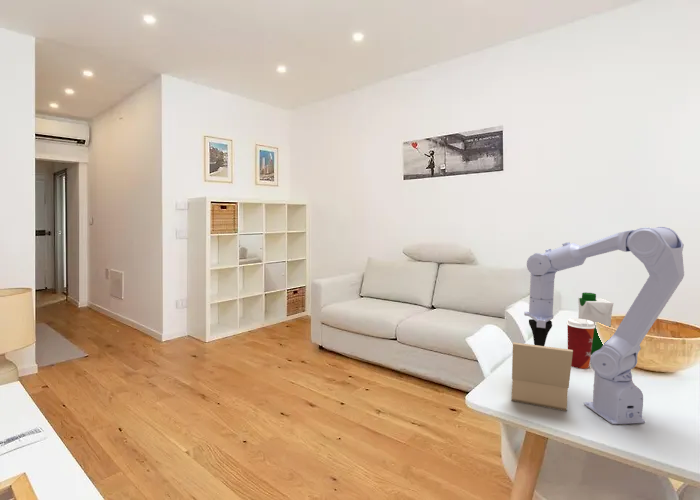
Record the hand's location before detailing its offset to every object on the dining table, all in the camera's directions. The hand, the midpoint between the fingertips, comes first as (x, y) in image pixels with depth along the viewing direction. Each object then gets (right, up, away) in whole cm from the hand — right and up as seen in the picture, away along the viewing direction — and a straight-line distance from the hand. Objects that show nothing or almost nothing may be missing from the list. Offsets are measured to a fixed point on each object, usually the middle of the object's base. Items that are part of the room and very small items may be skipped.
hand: (539, 347), depth 105 cm
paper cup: (+19, -10, +15) cm, 26 cm away
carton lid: (-7, 0, -14) cm, 16 cm away
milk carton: (+31, -9, +27) cm, 42 cm away
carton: (-3, -11, -6) cm, 13 cm away
